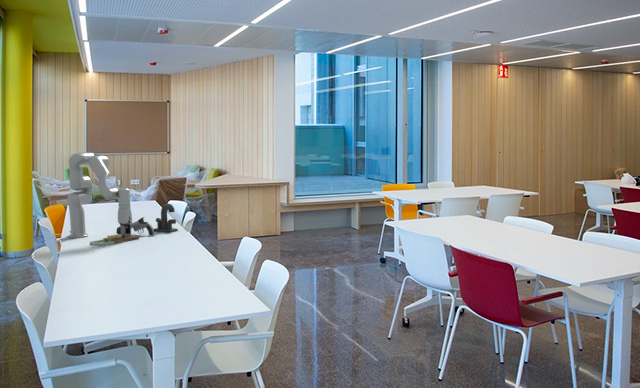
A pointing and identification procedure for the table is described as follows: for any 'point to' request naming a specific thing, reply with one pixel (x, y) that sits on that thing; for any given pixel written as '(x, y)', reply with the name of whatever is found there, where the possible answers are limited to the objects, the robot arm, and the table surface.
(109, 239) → the tan wooden cube
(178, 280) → the table surface
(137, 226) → the gun
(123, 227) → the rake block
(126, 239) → the slot board
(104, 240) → the tray
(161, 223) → the faucet
